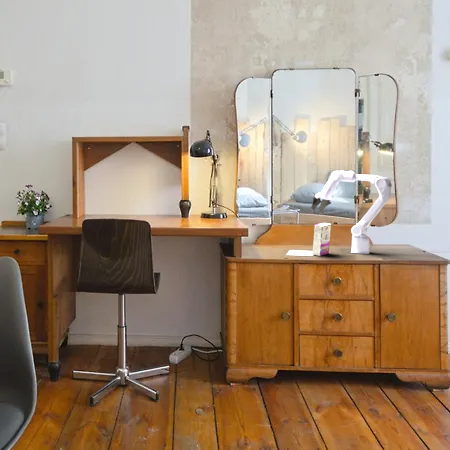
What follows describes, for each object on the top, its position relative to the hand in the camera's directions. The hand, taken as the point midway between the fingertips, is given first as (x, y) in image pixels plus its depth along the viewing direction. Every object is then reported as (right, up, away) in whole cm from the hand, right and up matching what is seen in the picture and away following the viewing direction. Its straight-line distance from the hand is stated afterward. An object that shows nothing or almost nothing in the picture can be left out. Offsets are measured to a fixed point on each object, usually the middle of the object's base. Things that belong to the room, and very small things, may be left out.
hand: (316, 209), depth 259 cm
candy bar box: (-1, -25, -17) cm, 30 cm away
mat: (-11, -25, -14) cm, 31 cm away
